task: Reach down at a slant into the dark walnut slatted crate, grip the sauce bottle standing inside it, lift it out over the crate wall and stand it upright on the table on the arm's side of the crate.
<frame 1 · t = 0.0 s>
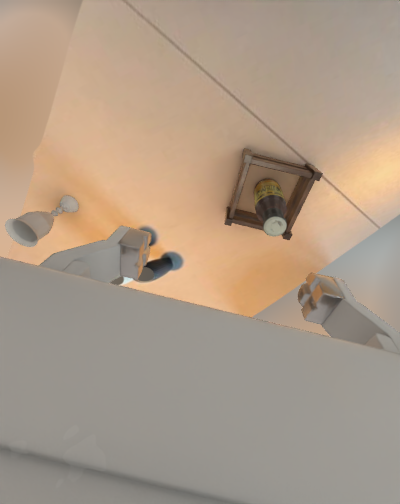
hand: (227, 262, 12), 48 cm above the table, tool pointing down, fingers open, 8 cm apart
crate: (265, 190, 57), on the table
chalice: (70, 203, 66), on the table
sauce bottle: (265, 190, 57), resting in crate
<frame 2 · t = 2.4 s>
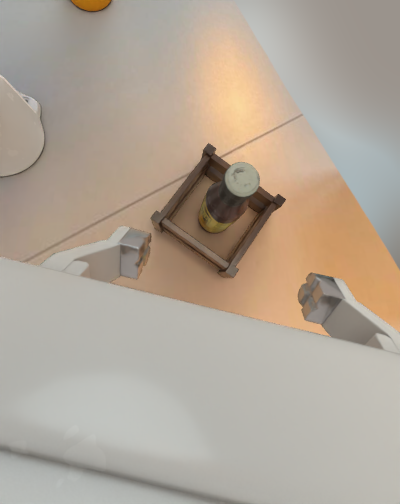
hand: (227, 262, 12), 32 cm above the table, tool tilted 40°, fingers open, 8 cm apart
crate: (213, 219, 45), on the table
sauce bottle: (213, 220, 45), resting in crate
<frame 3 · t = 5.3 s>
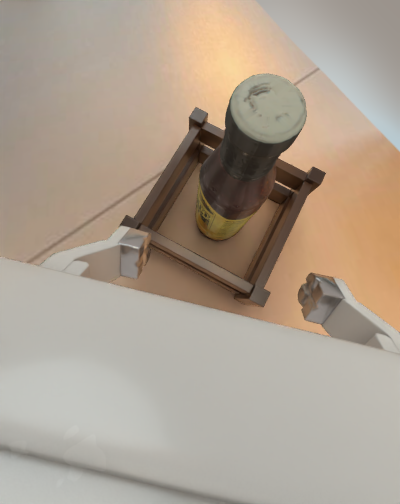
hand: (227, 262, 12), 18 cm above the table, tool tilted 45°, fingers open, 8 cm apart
crate: (217, 221, 31), on the table
sauce bottle: (217, 222, 31), resting in crate
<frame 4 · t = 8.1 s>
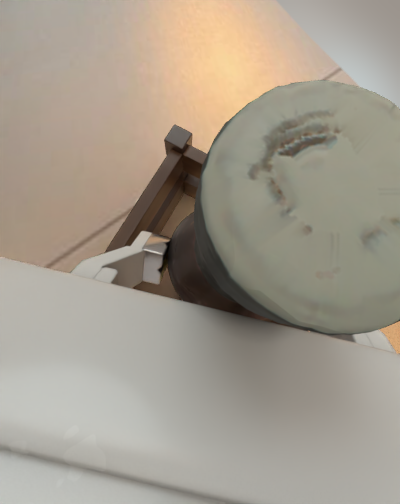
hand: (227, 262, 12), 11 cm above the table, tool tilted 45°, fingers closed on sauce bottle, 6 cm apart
crate: (209, 275, 23), on the table
sauce bottle: (209, 275, 23), resting in crate, touching gripper
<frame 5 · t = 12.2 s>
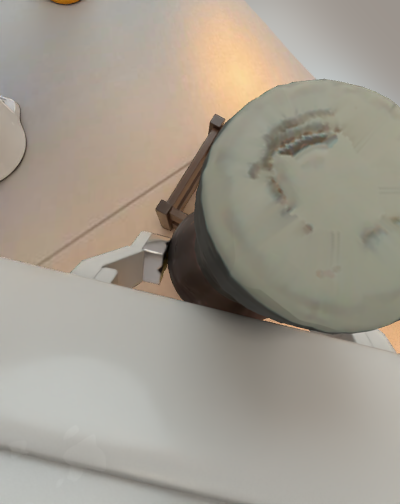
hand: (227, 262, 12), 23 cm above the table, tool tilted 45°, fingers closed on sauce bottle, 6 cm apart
crate: (230, 208, 37), on the table
sauce bottle: (209, 275, 23), point 12 cm above the table, touching gripper
when the fingers open (11 cm above the table, at t = 16.6 s): sauce bottle stays where it is, on the table.
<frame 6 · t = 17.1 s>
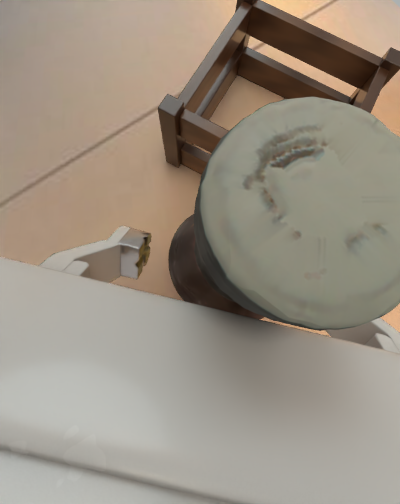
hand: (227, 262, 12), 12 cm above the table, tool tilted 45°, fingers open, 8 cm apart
crate: (261, 138, 26), on the table
sauce bottle: (209, 275, 23), on the table
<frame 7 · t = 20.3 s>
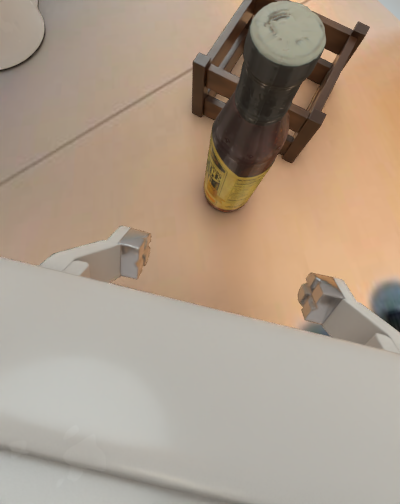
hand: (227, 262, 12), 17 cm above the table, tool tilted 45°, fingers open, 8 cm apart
crate: (264, 96, 34), on the table
sauce bottle: (225, 194, 31), on the table
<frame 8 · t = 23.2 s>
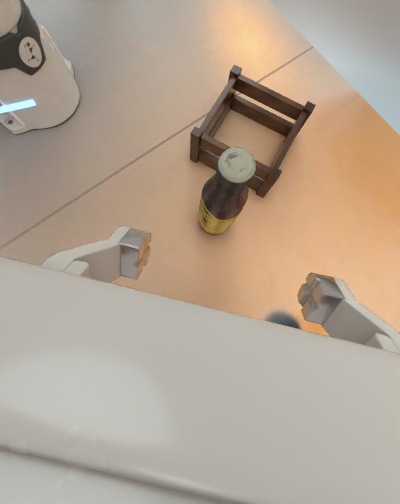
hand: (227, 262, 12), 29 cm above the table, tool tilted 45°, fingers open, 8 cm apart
crate: (244, 146, 46), on the table
sauce bottle: (214, 221, 43), on the table
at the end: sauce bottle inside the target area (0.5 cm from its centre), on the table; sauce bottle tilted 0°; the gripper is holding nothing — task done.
